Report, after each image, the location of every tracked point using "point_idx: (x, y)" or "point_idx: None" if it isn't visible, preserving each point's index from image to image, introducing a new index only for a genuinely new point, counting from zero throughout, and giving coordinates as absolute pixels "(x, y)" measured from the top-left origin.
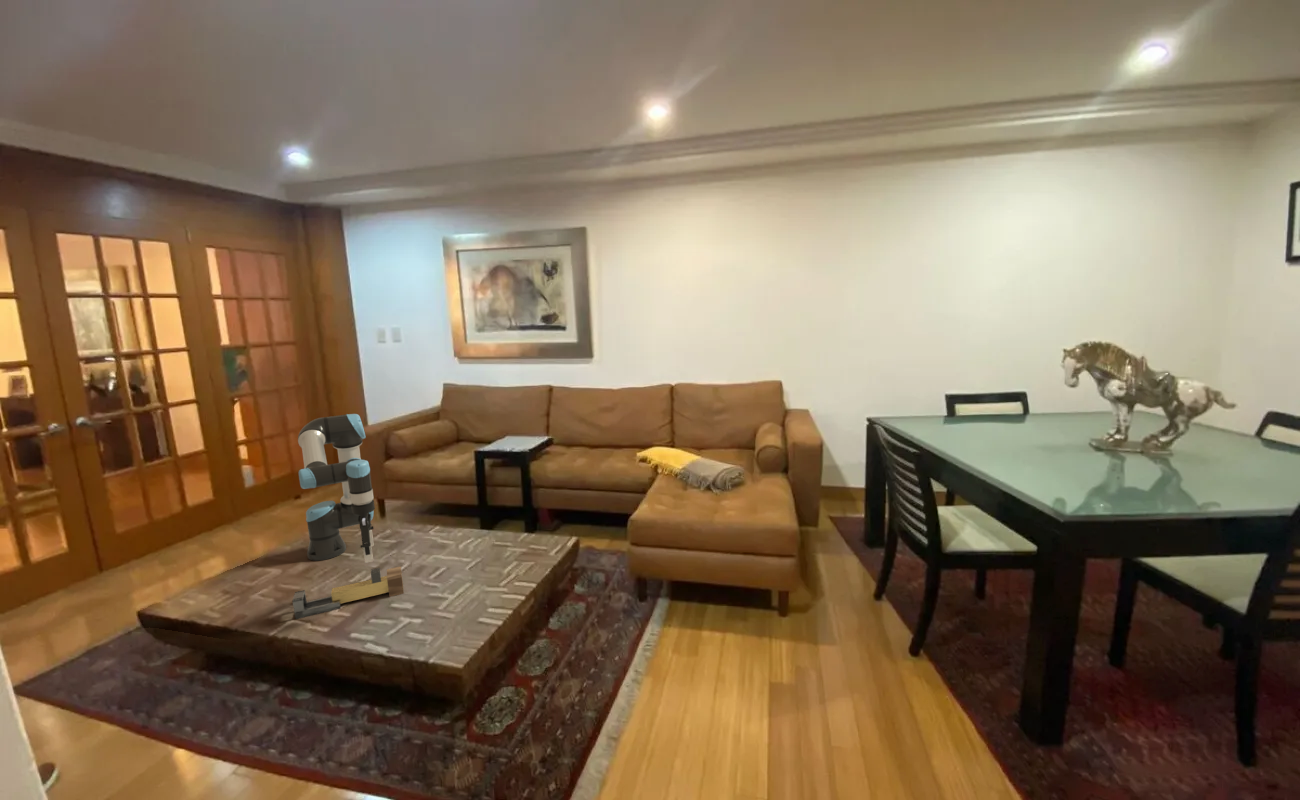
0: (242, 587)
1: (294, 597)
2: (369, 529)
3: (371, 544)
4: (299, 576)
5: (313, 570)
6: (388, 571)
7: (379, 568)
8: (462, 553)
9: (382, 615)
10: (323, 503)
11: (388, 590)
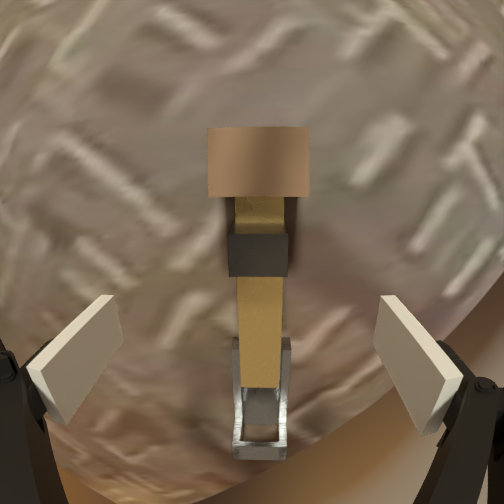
0: (95, 463)
1: (268, 458)
2: (28, 390)
3: (109, 316)
4: None
5: None
6: (238, 189)
7: (238, 235)
8: None
9: (408, 215)
10: None
11: None
